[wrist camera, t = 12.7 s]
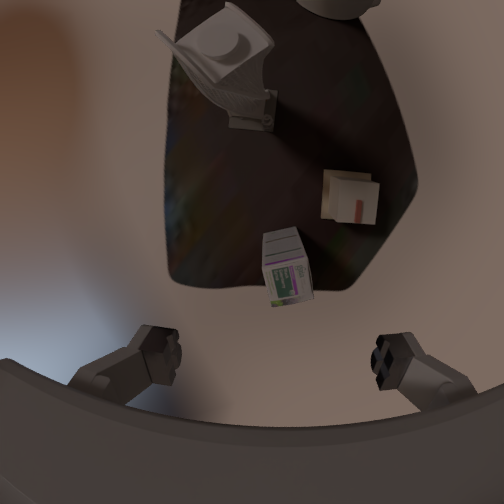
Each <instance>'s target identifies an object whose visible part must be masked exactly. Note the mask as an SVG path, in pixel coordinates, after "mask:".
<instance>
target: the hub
mask: <svg viewBox="0 0 504 504" xmlns="http://www.w3.org/2000/svg"><path fill="white" fill-rule="evenodd" d="M330 176H340V177H351V178H360V179H367V180H370V181H371V174H368V173H359V172H350V171H339V170H327V169H324V176H323V194H322V209H321V218H322V219H333V217H332V216H331V215H330V214H329V213H328V204H329V190H330Z"/></svg>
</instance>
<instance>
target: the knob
mask: <svg viewBox="0 0 504 504" xmlns="http://www.w3.org/2000/svg"><path fill="white" fill-rule="evenodd" d="M378 194H379V183H376V182H373V181H370V180H367V179H360V178H351V177H340V176H330V190H329V204H328V213H329V214H330V215H331V216H332V217H333V219H334V220H335V221H336V222H346V223H361V224H375V220H376V212H377V204H378Z"/></svg>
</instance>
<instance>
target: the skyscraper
mask: <svg viewBox="0 0 504 504" xmlns="http://www.w3.org/2000/svg"><path fill="white" fill-rule="evenodd" d="M155 35H156V36H157V37H158V38H159V39H160V40H161V41H162V42H163V43H165V44H166V45H167V46H168V47H169V48H170V49H171V51H172V52H173V54H174V55H175V57H176V59H177V60H178V62H179V63H180V65H181V66H182V68H183V69H184V71H185V72H186V74H187V75H188V77H189V78H190V79H191V81H192V82H193V83H194V84H195V86H196V87H197V88H198V89H199V90H200V92H201V93H202V94H203V95H204V96H206V97H207V98H208V99H209V100H210V101H212V102H213V103H214V104H216V105H218V106H219V107H221V108H223V109H225V110H227V112H228V114H229V116H230V120H229V128H237V129H248V130H259V131H268V132H273V129H274V120H275V111H276V102H277V93H278V91H275V90H265V89H264V86H263V80H262V67H263V61H264V58H265V57H266V56H267V54H268V53H269V52H270V51H271V50H272V48H273V47H274V41H273V39H272V38H271V37H270V35H269V34H268V33H267V32H266V31H265V30H264V29H263V28H262V27H261V26H260V25H258V24H257V23H256V22H255V21H254V20H253V19H252V18H251V17H249V16H248V15H247V14H246V13H245V12H243V11H242V10H241V9H240V8H238V7H237V6H236V5H234V4H233V3H230V2H226V3H225V8H224V9H222V10H221V11H219V12H218V13H216V14H215V15H213V16H212V17H210V18H209V19H207V20H206V21H204V22H203V23H202V24H200V25H199V26H197V27H196V28H195V29H193V30H192V31H191V32H189V33H188V34H187V35H185V36H184V37H183V38H182V39H180V40H179V41H178V42H177V43H174V42H173V41H172V40H171V39H170V38H169V37H167V36H166V35H165V34H164V33H163V32H162V31H161V30H156V32H155Z"/></svg>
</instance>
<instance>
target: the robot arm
mask: <svg viewBox="0 0 504 504" xmlns="http://www.w3.org/2000/svg"><path fill="white" fill-rule="evenodd" d="M296 1H297V2H298V3H299V4H300V5H301V6H303V7H304V8H306V9H307V10H309V11H311V12H313V13H315V14H317V15H320V16H323V17H326V18H330V19H337V20H349V19H354V18H357V17H359V16H361V15H363V14H364V13H365V12H366V11H367V10H368V9H369V8H371V7H375V6H378V5H379V4H380V2H381V0H296ZM178 339H179V333H178V330H176V329H171V328H164V327H158V326H149V325H141V327H140V328H139V330H138V331H137V333H136V334H135V335H134V337H133V338H132V340H131V341H130V343H129V345H128V346H127V347H122V348H120V349H118V350H116V351H114V352H112V353H110V354H108V355H106V356H104V357H102V358H100V359H98V360H95V361H93V362H91V363H89V364H87V365H85V366H83V367H80V368H79V369H78V371H77V372H76V374H75V375H74V376H73V378H72V379H71V380H70V382H69V383H68V385H67V386H66V385H64V384H61V383H59V382H57V381H54V380H52V379H50V378H48V377H45V376H43V375H41V374H39V373H37V372H35V371H33V370H31V369H29V368H26V367H24V366H23V365H21V364H19V363H17V362H16V361H14V360H12V359H8V358H5V359H1V360H0V504H504V383H503V384H501V385H499V386H497V387H494V388H492V389H489V390H487V391H484V392H482V393H479V394H478V393H477V391H476V390H475V388H474V387H473V385H472V383H471V382H470V380H469V379H468V377H467V376H465V375H463V374H462V373H460V372H458V371H456V370H455V369H453V368H451V367H450V366H448V365H446V364H444V363H442V362H441V361H439V360H437V359H436V358H434V357H432V356H430V355H426V354H425V353H424V351H423V349H422V348H421V346H420V344H419V343H418V341H417V340H416V338H415V337H414V335H413V334H412V333H411V332H405V333H399V334H386V335H379V336H378V338H377V340H376V345H377V348H375V349H374V350H373V352H372V355H371V368H372V371H373V372H374V373H375V374H376V375H377V377H376V382H377V384H378V387H379V390H380V391H382V390H390V389H397V390H398V391H399V392H400V393H402V394H403V395H404V396H405V397H406V398H407V399H409V401H410V402H412V403H413V404H414V405H415V406H416V407H417V408H418V409H420V411H421V412H417V413H413V414H408V415H403V416H398V417H393V418H387V419H381V420H375V421H368V422H361V423H352V424H343V425H330V426H314V427H259V426H242V425H230V424H220V423H212V422H204V421H197V420H190V419H184V418H179V417H173V416H168V415H163V414H158V413H154V412H149V411H145V410H141V409H137V408H133V407H129V406H126V405H125V404H126V403H127V402H129V401H130V400H132V399H133V398H134V397H136V396H137V395H138V394H140V393H141V392H142V391H143V390H145V389H146V388H147V387H149V386H150V385H151V384H152V383H155V384H161V385H168V386H172V383H173V381H174V378H175V376H176V373H175V369H177V368H178V367H179V366H180V363H181V357H182V350H181V345H180V344H179V343H178V342H177V341H178Z"/></svg>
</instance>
